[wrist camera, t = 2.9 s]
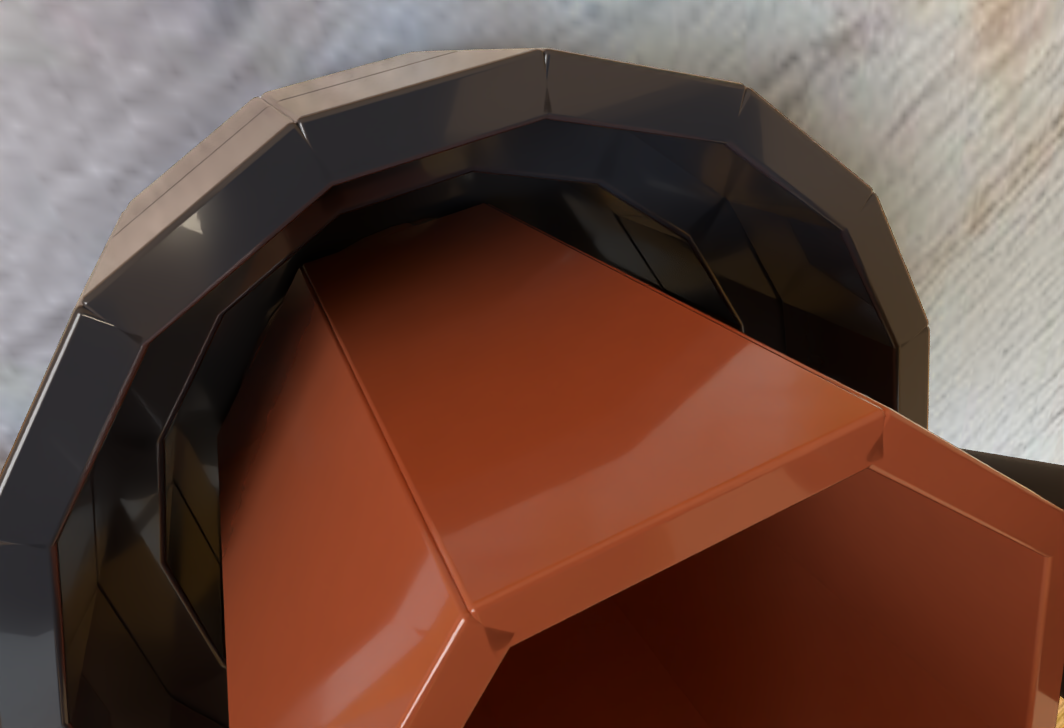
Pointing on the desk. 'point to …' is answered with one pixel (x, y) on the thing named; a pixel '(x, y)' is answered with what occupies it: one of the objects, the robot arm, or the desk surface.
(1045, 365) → the desk surface
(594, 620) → the octagonal orange cup
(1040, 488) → the robot arm
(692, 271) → the wide bowl
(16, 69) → the desk surface
